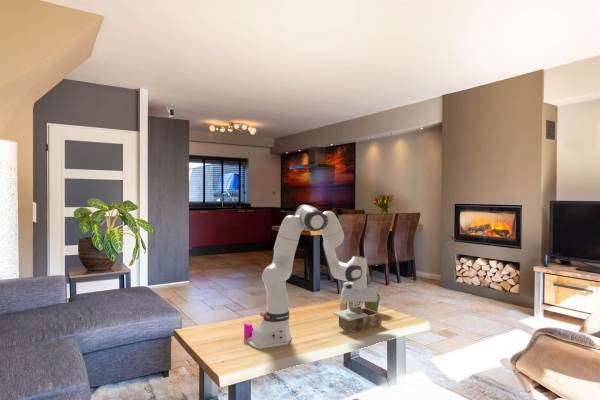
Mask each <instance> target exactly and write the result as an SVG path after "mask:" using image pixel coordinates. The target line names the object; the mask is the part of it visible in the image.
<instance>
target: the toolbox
mask: <svg viewBox="0 0 600 400" xmlns="http://www.w3.org/2000/svg"><path fill="white" fill-rule="evenodd" d="M361 309H363V313H365V314H368V316H367V317H363V318H359V319H355V320H351V321H348V320H346V319H343V318H341V317H339V316H338V327H340V328H342V329H345V330H347V331H349V332H352V333H354V334H356V333H359V332H363V331H367V330H370V329H374V328H378V327H380V326H382V313H381V312H378V311H377V312H376V311H373V310H370V309H367V308H365V307H361Z"/></svg>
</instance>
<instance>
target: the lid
mask: <svg viewBox="0 0 600 400" xmlns="http://www.w3.org/2000/svg"><path fill="white" fill-rule="evenodd" d="M361 308H362V307H361ZM361 308H358V307H355V306H350V309H347V310H342V311H340V310H338V311H335V312H333V313H332V315H333V316H336V317H338V318H339V317H341V318H343V319H346V320H348V321H351V320H355V319H359V318H363V317H367V316H368V314H365V313H363V309H361Z"/></svg>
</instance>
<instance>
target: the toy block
mask: <svg viewBox="0 0 600 400" xmlns="http://www.w3.org/2000/svg"><path fill="white" fill-rule="evenodd" d="M263 319H264V317H262V320H263ZM262 320H261V321H262ZM259 323H260V322H257V324H255V326H254V327H256V326H257V325H258V324H259ZM243 325H244V326H243V328H244V329H243V338H244V339H246V340H247V339H248V338H250V337H252V331H253V329H254V327H253V324H251V323H249V322H244V324H243Z"/></svg>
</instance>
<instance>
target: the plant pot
mask: <svg viewBox="0 0 600 400" xmlns="http://www.w3.org/2000/svg"><path fill="white" fill-rule="evenodd" d="M381 297H382V294H381V293H379V292H377V299H378V300H377V301H376V302H363V305H364V308H367V309H370V310H373V311H376V312H378V310H379V303H380V299H381Z"/></svg>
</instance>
